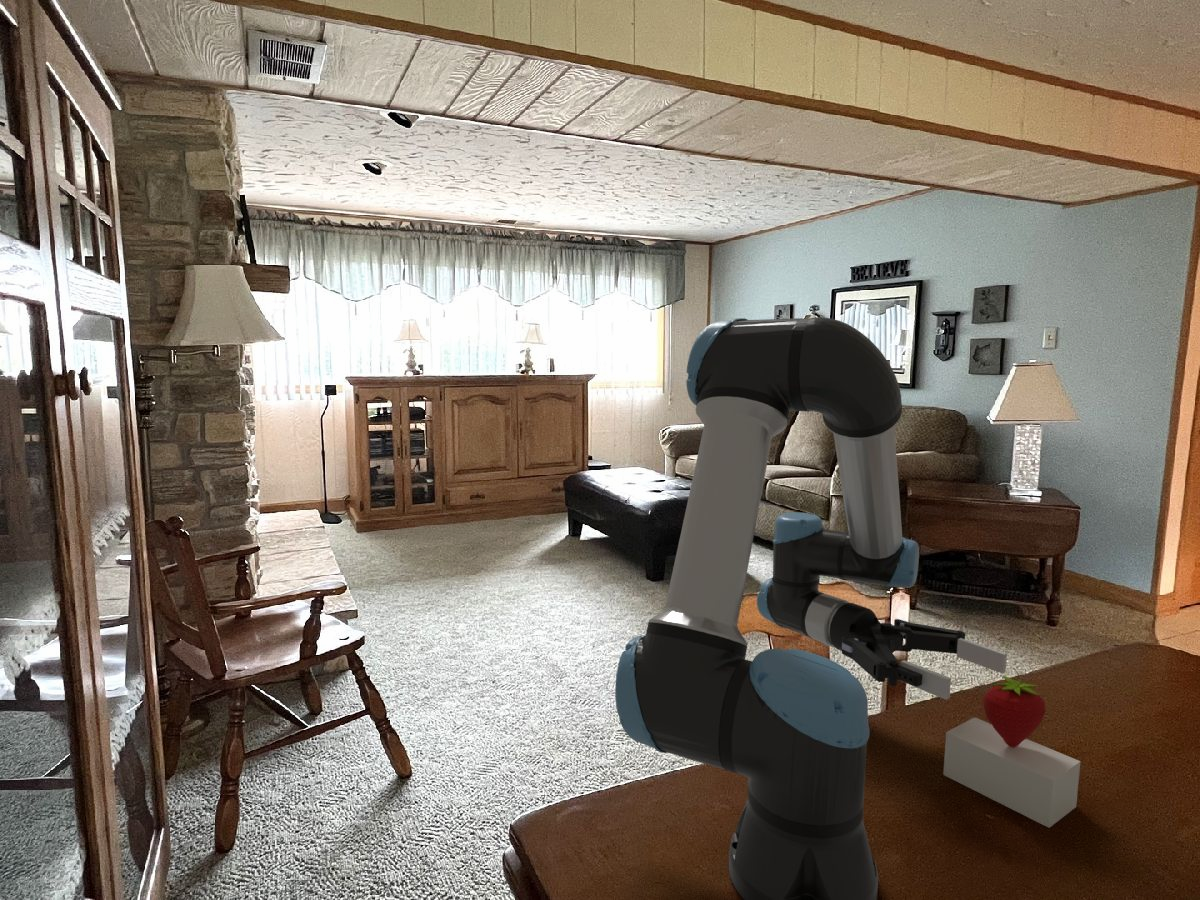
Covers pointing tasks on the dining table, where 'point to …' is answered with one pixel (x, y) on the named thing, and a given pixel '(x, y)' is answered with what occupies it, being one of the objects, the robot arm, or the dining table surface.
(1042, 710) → the strawberry
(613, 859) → the dining table surface
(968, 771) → the block
